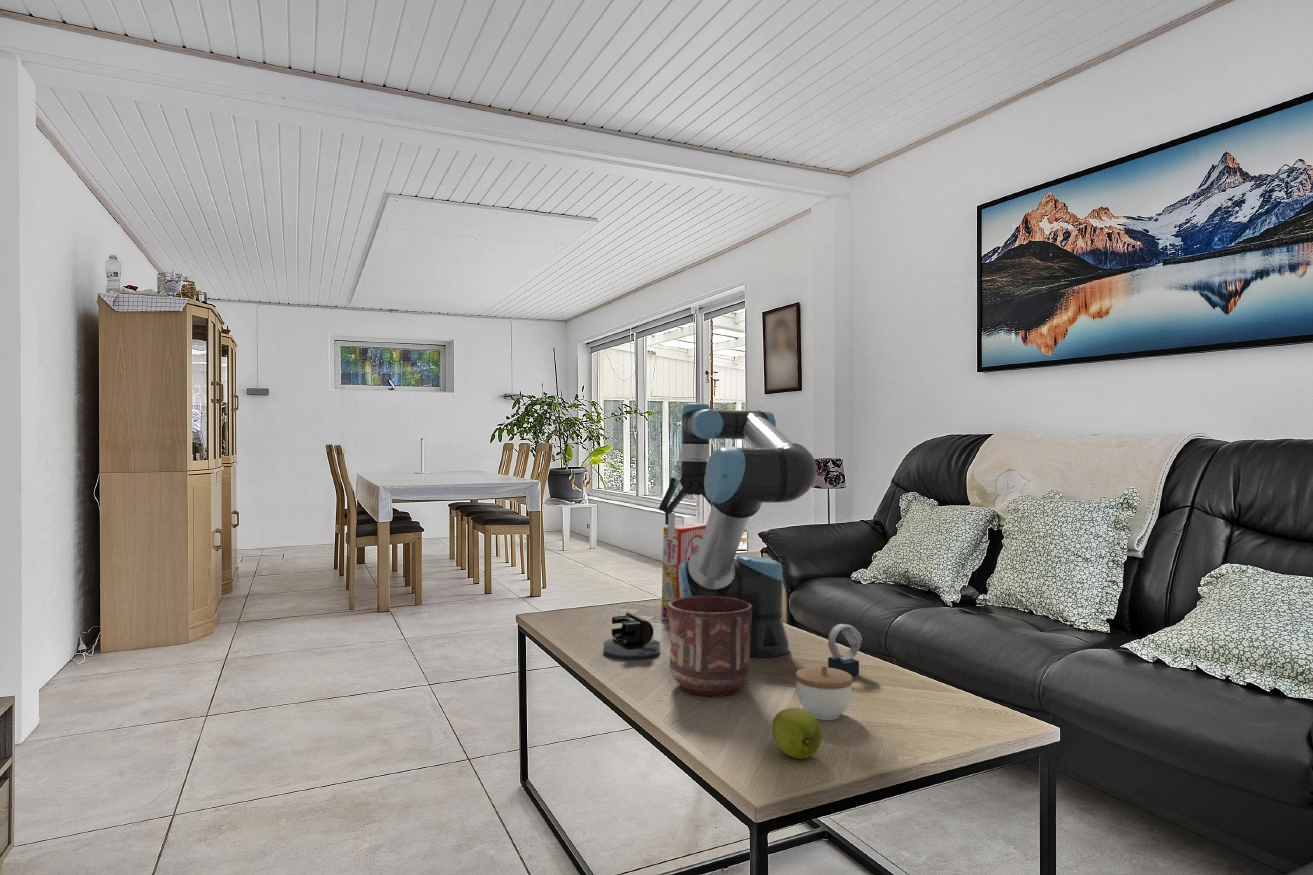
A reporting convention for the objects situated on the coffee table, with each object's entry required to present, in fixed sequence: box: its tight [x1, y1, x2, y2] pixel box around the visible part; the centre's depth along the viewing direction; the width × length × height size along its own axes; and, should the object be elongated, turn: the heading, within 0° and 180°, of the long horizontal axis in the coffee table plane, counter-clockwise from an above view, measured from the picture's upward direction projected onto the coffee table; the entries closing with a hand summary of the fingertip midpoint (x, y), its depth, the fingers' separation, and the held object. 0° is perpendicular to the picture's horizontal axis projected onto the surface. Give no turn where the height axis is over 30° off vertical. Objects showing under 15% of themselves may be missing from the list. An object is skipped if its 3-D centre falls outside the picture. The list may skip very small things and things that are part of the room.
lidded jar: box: [795, 665, 853, 721], centre depth 150 cm, size 11×11×9 cm
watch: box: [827, 623, 863, 677], centre depth 177 cm, size 6×8×11 cm
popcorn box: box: [660, 522, 707, 621], centre depth 234 cm, size 20×6×27 cm, turn 149°
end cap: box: [611, 612, 654, 649], centre depth 192 cm, size 10×7×7 cm
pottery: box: [668, 596, 752, 697], centre depth 165 cm, size 18×18×18 cm
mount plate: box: [602, 638, 661, 661], centre depth 192 cm, size 14×14×2 cm
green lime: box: [771, 707, 823, 760], centre depth 130 cm, size 8×9×8 cm
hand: (694, 538), depth 210 cm, fingers open, 13 cm apart
